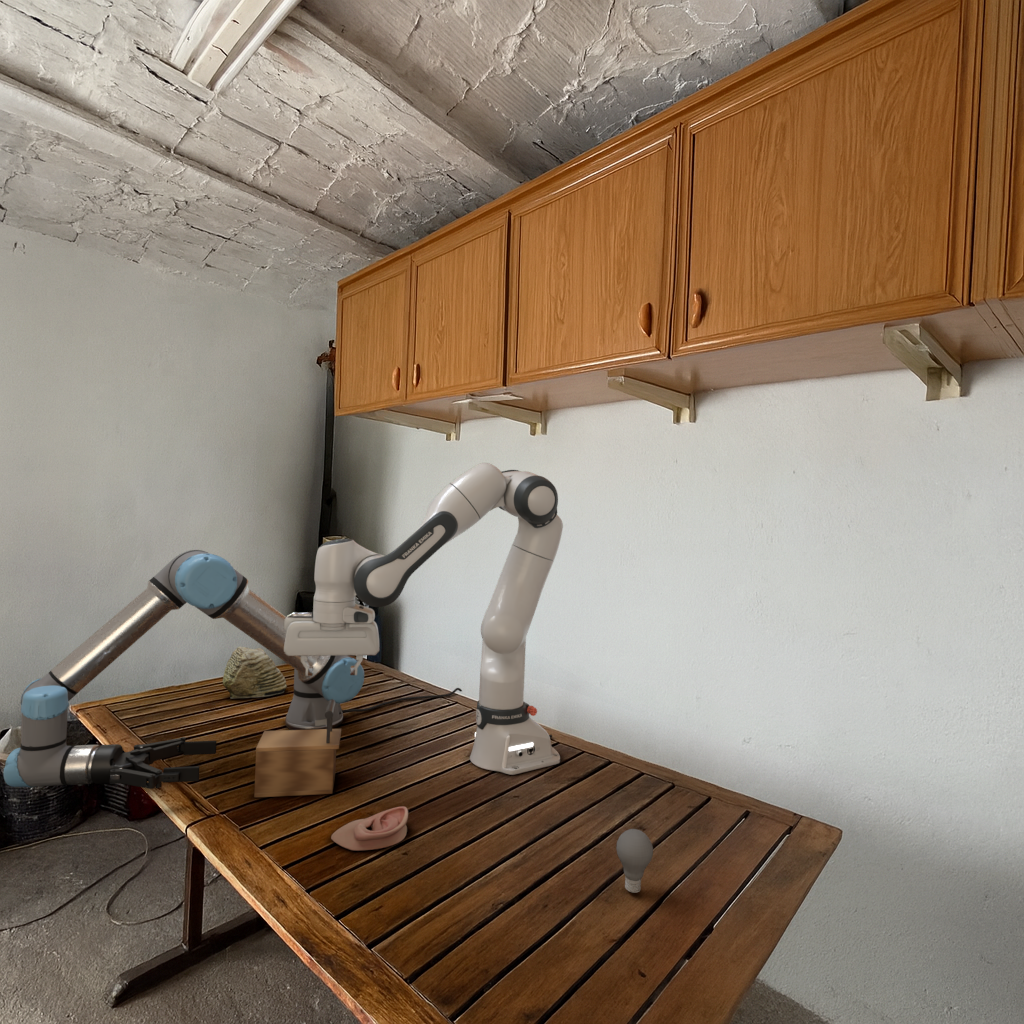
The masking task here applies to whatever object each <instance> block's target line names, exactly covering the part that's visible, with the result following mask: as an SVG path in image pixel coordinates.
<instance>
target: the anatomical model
mask: <svg viewBox="0 0 1024 1024" xmlns="http://www.w3.org/2000/svg"><path fill="white" fill-rule="evenodd" d="M408 819H409V809H408V808H407V807H406V806H405V805H404V806H402V805H401V806H396V807H393V808H389V809H386V810H382V811H381V812H378V813H376V814H373V815H371V816H369V817H365V818H360V819H356V820H352V821H350V822H348V823H345V824H344V825H343V826H341V827H339V828H337V830H335V831H334V832H333V833H332V834H331V836H330V839H331V841H333V843H336V845H338V846H339V847H342V848H344V849H347V850H350V851H357V852H359V851H371V850H379V849H383V848H388V847H392V846H394V845H396V844H399V843H400V842H402V841H403V840H404V839H405V838H406V836H407V832H408V827H407V822H408Z"/></svg>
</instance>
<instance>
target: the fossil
mask: <svg viewBox="0 0 1024 1024" xmlns="http://www.w3.org/2000/svg"><path fill="white" fill-rule="evenodd" d="M222 676H223V677H222V685H223V687H224V688H225V690H226V691H228V693H229V698H230V699H250V698H264V697H271V696H275V695H281V694H284V693H285V691H286V689H287V687H288V686H287V680H286V678H285V676H284V674H283V673H282V672H281V669H279V668H278V667H277V665H276V663H275V662H274V660H273V659H272V658H271V657H270V656H269V655H268V654H267V653H266V652H265V650H264V649H263V648H260V647H258V648H251V647H247V646H246V647H245V646H238V647H237V648H236V649H235V650H233V651H232V653H231V656H230V657H229V659H228V660H227V663H226V666H225V668H224V671H223V675H222Z"/></svg>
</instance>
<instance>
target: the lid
mask: <svg viewBox="0 0 1024 1024" xmlns="http://www.w3.org/2000/svg"><path fill="white" fill-rule="evenodd" d="M335 704H336V702H335V700H333V699H331V700H329V701H328V704H327V708H326V712H325V717H326V718H327V729H314V730H292V729H284V730H283V729H282V730H280V729H279V730H264V731H263V733H262V735H261V737H260V739H259V741H258V743H257V745H256V747H255V753H256V752H267V751H295V750H323V749H336V750H339V749H340V743H341V737H342V728H333V729H332V721H333V714H334V709H335Z"/></svg>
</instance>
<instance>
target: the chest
mask: <svg viewBox="0 0 1024 1024" xmlns="http://www.w3.org/2000/svg"><path fill="white" fill-rule="evenodd" d="M336 769H337V749H323V750H295V751H267V752H256V751H255V768H254V770H255V771H254V795H253V798H271V797H272V798H273V797H293V796H312V795H316V796H317V795H330V794H331V795H332V794H333V792H334V786H335V779H336V778H335V777H336Z"/></svg>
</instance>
